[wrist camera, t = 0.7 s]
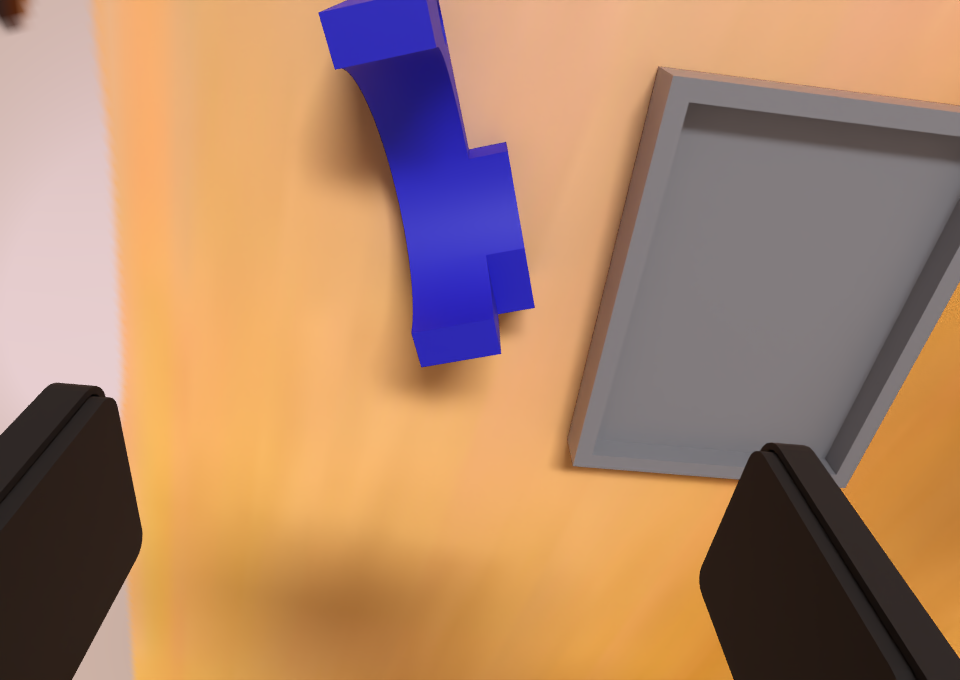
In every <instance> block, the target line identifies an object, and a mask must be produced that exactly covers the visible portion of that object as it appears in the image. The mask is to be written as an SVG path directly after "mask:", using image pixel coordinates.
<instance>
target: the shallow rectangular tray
mask: <svg viewBox="0 0 960 680" xmlns="http://www.w3.org/2000/svg"><path fill="white" fill-rule="evenodd" d="M959 282H960V106H958V105H950V104H942V103H935V102H927V101H919V100H912V99H904V98H896V97H889V96H881V95H873V94H866V93H858V92H850V91H843V90H835V89H827V88H820V87H812V86H804V85H797V84H789V83H781V82H774V81H766V80H759V79H751V78H743V77H736V76H728V75H720V74H713V73H705V72H697V71H690V70H682V69H674V68H667V67H658V72H657V76H656V80H655V84H654V88H653V92H652V96H651V100H650V104H649V108H648V112H647V116H646V121H645V125H644V129H643V133H642V137H641V141H640V145H639V149H638V153H637V157H636V161H635V165H634V170H633V174H632V178H631V182H630V186H629V190H628V194H627V198H626V202H625V206H624V210H623V214H622V219H621V223H620V227H619V231H618V235H617V239H616V243H615V247H614V251H613V255H612V259H611V263H610V268H609V272H608V276H607V280H606V284H605V288H604V292H603V296H602V300H601V304H600V308H599V312H598V317H597V321H596V325H595V329H594V333H593V337H592V341H591V345H590V349H589V353H588V357H587V361H586V366H585V370H584V374H583V378H582V382H581V386H580V390H579V394H578V398H577V402H576V406H575V410H574V415H573V419H572V423H571V427H570V431H569V435H568V439H567V440H568V445H569V450H570V455H571V460H572V465H573V466H578V467H590V468H603V469H615V470H627V471H640V472H652V473H665V474H677V475H690V476H702V477H714V478H727V479H740V477H741V475H742V473H743V470H744V468H745V466H746V463H747V461H748V459H749V457H750V455H751V454H752V453H753V452H754V451H760V450H761V448H762V447H763V446H764V445H765V444H766V443H771V442H772V443H784V444H796V445H805V446H808V447H810V448H811V449H812V450H813V451H814V452H815V454H816V455H817V457H818V458H819V460H820V461H821V462H822V464H823V465H824V467H825V468H826V470H827V471H828V472H829V474H830V475H831V477H832V478H833V479H834V481H835V482H836V484H837V485H838V487H839V488H845V487H846V486H847V484H848V482H849V480H850V478H851V477H852V475H853V473H854V471H855V469H856V467H857V466H858V464H859V462H860V460H861V458H862V457H863V455H864V453H865V451H866V449H867V448H868V446H869V444H870V442H871V440H872V439H873V437H874V435H875V433H876V431H877V430H878V428H879V426H880V424H881V422H882V421H883V419H884V417H885V415H886V413H887V412H888V410H889V408H890V406H891V404H892V403H893V401H894V399H895V397H896V395H897V394H898V392H899V390H900V388H901V386H902V385H903V383H904V381H905V379H906V377H907V375H908V374H909V372H910V370H911V368H912V366H913V365H914V363H915V361H916V359H917V357H918V356H919V354H920V352H921V350H922V348H923V347H924V345H925V343H926V341H927V339H928V338H929V336H930V334H931V332H932V330H933V329H934V327H935V325H936V323H937V321H938V320H939V318H940V316H941V314H942V312H943V311H944V309H945V307H946V305H947V303H948V302H949V300H950V298H951V296H952V294H953V293H954V291H955V289H956V287H957V285H958V283H959Z"/></svg>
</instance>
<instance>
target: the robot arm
mask: <svg viewBox="0 0 960 680" xmlns="http://www.w3.org/2000/svg"><path fill="white" fill-rule="evenodd" d="M141 544H142V527H141V522H140V517H139V512H138V507H137V502H136V497H135V492H134V487H133V482H132V477H131V472H130V467H129V462H128V457H127V452H126V447H125V442H124V437H123V432H122V427H121V422H120V416H119V411H118V407H117V404H116V401H115V400H114V399H113V398H109V397H105V394H104V391H103V390H102V389H101V388H100V387H97V386H89V385H77V384H65V383H53V384H50V385H49V386H48V387H46V388H45V389H44V390H43V391H42V392H41V393H40V394H39V395H38V396H37V397H36V399H35V400H34V401H33V402H32V403H31V404H30V405H29V406H28V407H27V408H26V409H25V410H24V411H23V412H22V413H21V414H20V415H19V416H18V418H16V420H15V421H14V422H13V423H12V424H11V425H10V426H9V427H8V428H7V429H6V430H5V431H4V432H3V433H2V434H1V435H0V680H72V678H73V677H74V675H75V673H76V671H77V669H78V667H79V665H80V663H81V662H82V660H83V658H84V656H85V654H86V652H87V650H88V649H89V647H90V645H91V643H92V641H93V639H94V637H95V635H96V633H97V632H98V630H99V628H100V626H101V624H102V622H103V620H104V619H105V617H106V615H107V613H108V611H109V609H110V607H111V605H112V603H113V602H114V600H115V598H116V596H117V594H118V592H119V591H120V589H121V587H122V585H123V583H124V581H125V579H126V578H127V576H128V574H129V572H130V570H131V568H132V566H133V564H134V563H135V561H136V559H137V557H138V554H139V552H140V548H141ZM699 582H700V589H701V593H702V596H703V599H704V601H705V604H706V607H707V609H708V612H709V615H710V617H711V620H712V623H713V625H714V628H715V631H716V633H717V636H718V639H719V641H720V644H721V647H722V649H723V652H724V655H725V657H726V660H727V663H728V665H729V668H730V671H731V673H732V676H733V679H734V680H960V659H959V657H958V656H957V654H956V653H955V651H954V650H953V649H952V647H951V646H950V644H949V643H948V641H947V640H946V639H945V637H944V636H943V634H942V633H941V632H940V630H939V629H938V627H937V626H936V624H935V623H934V622H933V620H932V619H931V617H930V616H929V614H928V613H927V612H926V610H925V609H924V607H923V606H922V605H921V603H920V602H919V600H918V599H917V597H916V596H915V595H914V593H913V592H912V590H911V589H910V587H909V586H908V585H907V583H906V582H905V580H904V579H903V578H902V576H901V575H900V573H899V572H898V570H897V569H896V568H895V566H894V565H893V563H892V562H891V560H890V559H889V558H888V556H887V555H886V553H885V552H884V551H883V549H882V548H881V546H880V545H879V543H878V542H877V541H876V539H875V538H874V536H873V535H872V533H871V532H870V531H869V529H868V528H867V526H866V525H865V524H864V522H863V521H862V519H861V518H860V516H859V515H858V514H857V512H856V511H855V509H854V508H853V506H852V505H851V504H850V502H849V501H848V499H847V498H846V497H845V495H844V494H843V492H842V491H841V489H840V488H839V487H838V485H837V484H836V482H835V481H834V479H833V478H832V477H831V475H830V474H829V472H828V471H827V470H826V468H825V467H824V465H823V464H822V462H821V461H820V460H819V458H818V457H817V455H816V454H815V452H814V451H813V450H812V449H811V448H810V447H808V446H805V445H796V444H784V443H772V442H771V443H766V444H765V445H764V446H763V447H762V448H761V450H760V451H754V452H753V453H752V454H751V455H750V457H749V459H748V461H747V463H746V466H745V468H744V470H743V473H742V475H741V477H740V479H739V482H738V484H737V486H736V489H735V491H734V493H733V496H732V498H731V500H730V502H729V505H728V507H727V509H726V512H725V514H724V516H723V518H722V521H721V523H720V525H719V528H718V530H717V532H716V535H715V537H714V539H713V541H712V544H711V546H710V548H709V551H708V553H707V555H706V558H705V560H704V562H703V564H702V567H701V570H700V576H699Z"/></svg>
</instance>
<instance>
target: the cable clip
mask: <svg viewBox="0 0 960 680" xmlns="http://www.w3.org/2000/svg"><path fill="white" fill-rule="evenodd" d="M319 16H320V20H321V23H322V27H323V30H324V33H325V37H326V40H327V44H328V47H329V51H330V54H331V58H332V61H333V64H334V68H335V70H336V69H340V68H342V69H344V70H346V71H347V72H348V73H349V74H350V75H351V76H352V77H353V79H354V80H355V81H356V83H357V84H358V86H359V88H360V90H361V91H362V93H363V95H364V97H365V99H366V101H367V104H368V106H369V108H370V110H371V113H372V115H373V118H374V120H375V123H376V126H377V128H378V131H379V134H380V137H381V140H382V143H383V146H384V149H385V152H386V155H387V159H388V162H389V166H390V169H391V173H392V177H393V180H394V184H395V188H396V192H397V197H398V201H399V205H400V210H401V215H402V220H403V225H404V230H405V236H406V242H407V249H408V255H409V263H410V271H411V281H412V295H413V323H412V337H413V340H414V344H415V347H416V350H417V354H418V357H419V361H420V364H421V367H426V366H432V365H438V364H444V363H450V362H456V361H462V360H467V359H473V358H479V357H485V356H491V355H497V354H501V346H500V332H499V319H498V314H502V313H508V312H514V311H519V310H525V309H531V308H535V307H534V301H533V295H532V289H531V283H530V277H529V272H528V266H527V260H526V254H525V248H524V243H523V237H522V231H521V225H520V220H519V214H518V208H517V202H516V196H515V191H514V185H513V179H512V173H511V167H510V162H509V156H508V150H507V144H506V142H504V143H499V144H494V145H489V146H484V147H479V148H474V149H469V148H468V143H467V138H466V133H465V128H464V124H463V119H462V114H461V109H460V104H459V99H458V94H457V89H456V84H455V79H454V74H453V69H452V64H451V59H450V54H449V49H448V45H447V40H446V35H445V30H444V25H443V20H442V15H441V10H440V5H439V0H347V1H344V2H342V3H340V4H337V5H335V6H333V7H331V8H328V9H326V10H324V11H321V12H319Z"/></svg>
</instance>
